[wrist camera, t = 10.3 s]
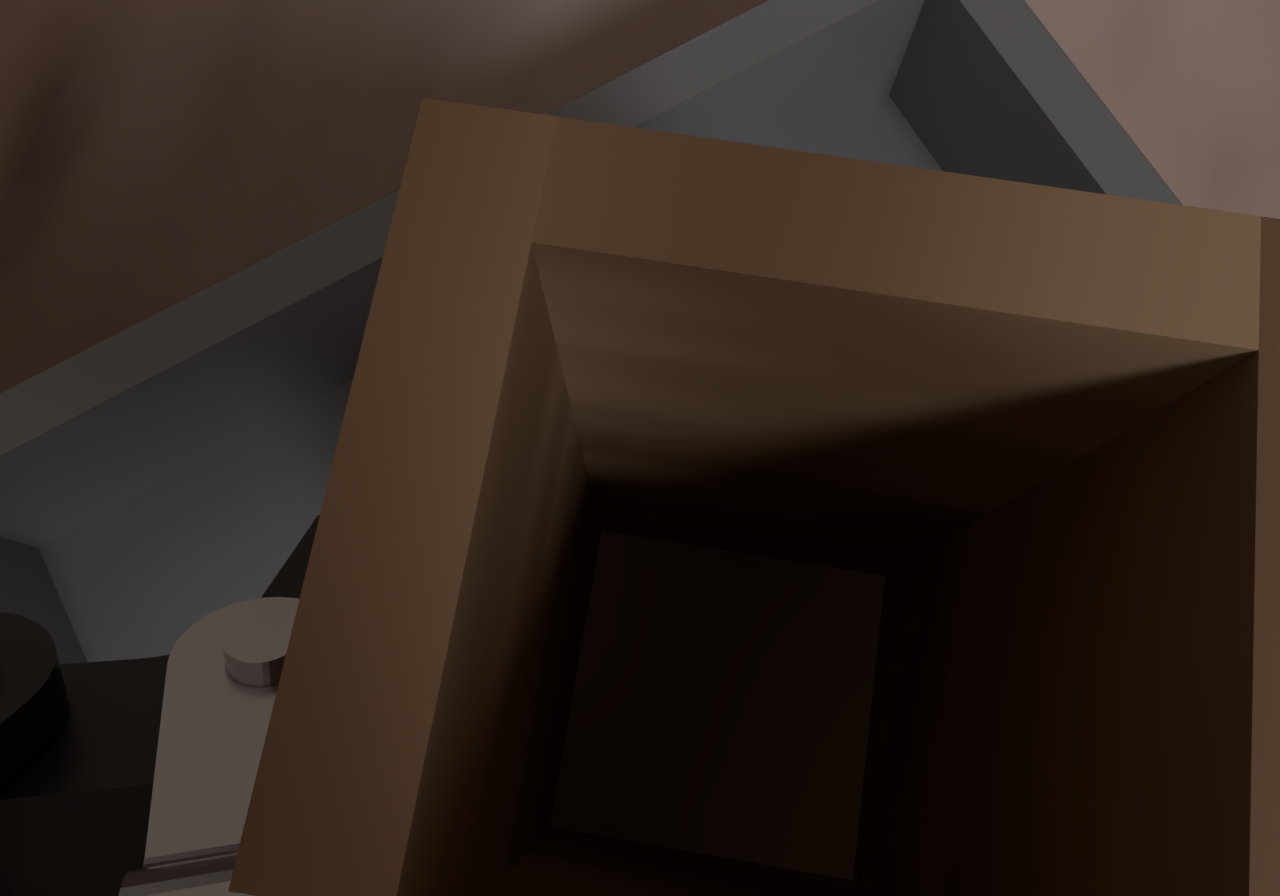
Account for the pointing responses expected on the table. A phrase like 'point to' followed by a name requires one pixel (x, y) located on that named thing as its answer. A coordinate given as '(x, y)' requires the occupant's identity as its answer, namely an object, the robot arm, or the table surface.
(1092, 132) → the grey tray
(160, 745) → the robot arm
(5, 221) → the table surface
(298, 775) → the walnut crate
